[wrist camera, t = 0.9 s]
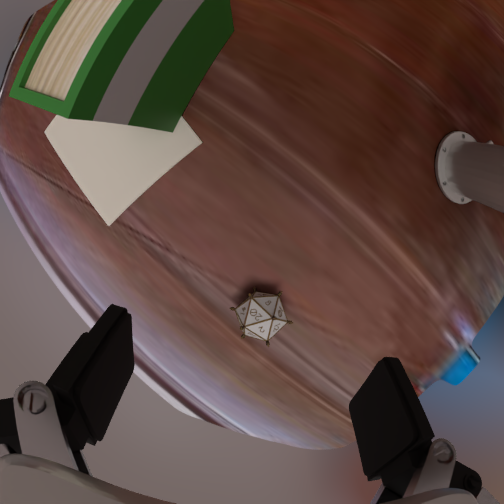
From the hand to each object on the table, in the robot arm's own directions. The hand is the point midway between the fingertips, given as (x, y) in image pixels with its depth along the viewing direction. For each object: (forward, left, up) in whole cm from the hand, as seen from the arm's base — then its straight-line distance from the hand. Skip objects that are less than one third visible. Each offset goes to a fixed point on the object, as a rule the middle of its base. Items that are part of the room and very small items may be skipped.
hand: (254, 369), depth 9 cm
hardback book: (-3, -22, -31) cm, 38 cm away
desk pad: (+11, -22, -31) cm, 40 cm away
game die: (+9, +14, -32) cm, 36 cm away
